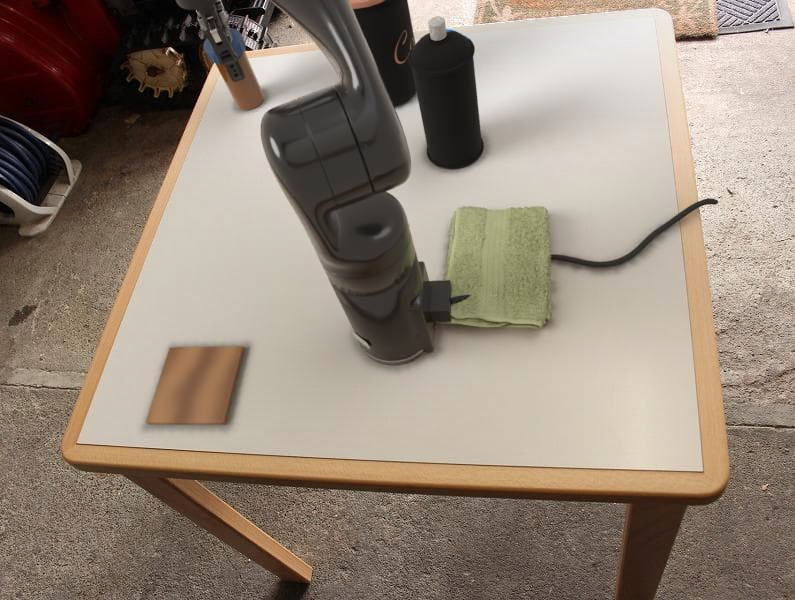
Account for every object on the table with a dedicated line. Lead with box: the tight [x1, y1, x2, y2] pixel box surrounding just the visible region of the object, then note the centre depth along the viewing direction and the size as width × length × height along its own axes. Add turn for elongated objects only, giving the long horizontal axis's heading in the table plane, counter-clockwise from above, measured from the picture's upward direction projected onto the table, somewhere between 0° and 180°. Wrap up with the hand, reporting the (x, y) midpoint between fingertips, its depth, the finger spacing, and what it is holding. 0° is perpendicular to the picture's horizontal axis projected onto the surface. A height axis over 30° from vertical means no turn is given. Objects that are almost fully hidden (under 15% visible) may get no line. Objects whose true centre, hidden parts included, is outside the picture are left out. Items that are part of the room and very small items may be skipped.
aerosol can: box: [408, 16, 485, 170], centre depth 79 cm, size 8×8×20 cm
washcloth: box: [439, 205, 554, 330], centre depth 73 cm, size 13×18×3 cm
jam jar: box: [214, 50, 265, 111], centre depth 99 cm, size 5×5×11 cm
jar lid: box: [203, 27, 247, 65], centre depth 95 cm, size 6×6×2 cm
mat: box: [145, 345, 246, 426], centre depth 73 cm, size 10×10×1 cm
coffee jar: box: [349, 0, 417, 107], centre depth 91 cm, size 11×11×18 cm
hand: (236, 66), depth 98 cm, fingers open, 6 cm apart
